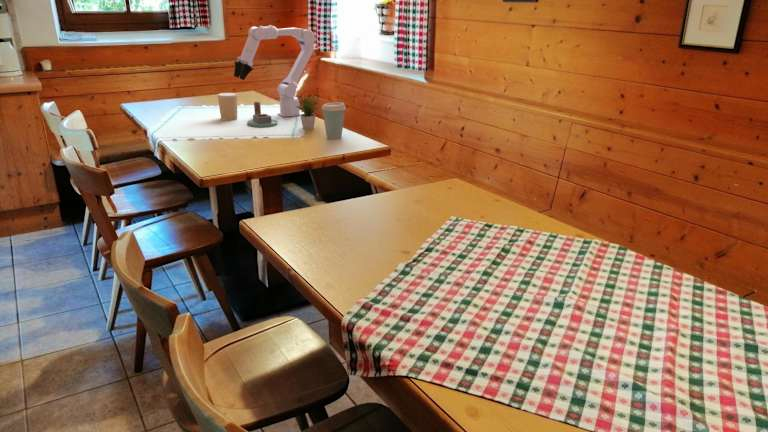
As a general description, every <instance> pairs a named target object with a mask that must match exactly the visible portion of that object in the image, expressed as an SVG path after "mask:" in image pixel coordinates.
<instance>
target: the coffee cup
mask: <svg viewBox="0 0 768 432" xmlns="http://www.w3.org/2000/svg"><path fill="white" fill-rule="evenodd" d="M217 99H218V100H217V101H218V106H219V114H220V118H221V120H223V121H235V120H238V95H237V93H235V92H220V93H217Z"/></svg>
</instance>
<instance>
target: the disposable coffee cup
mask: <svg viewBox="0 0 768 432" xmlns="http://www.w3.org/2000/svg"><path fill="white" fill-rule="evenodd" d="M321 110H322V115H323V123H324V128H325V134H326V135H325V136H326V137H327V139H331V140H332V139H333V140H336V139H341V138H342V134H343V128H344V121H345V113H346V110H347V106H345V103H344V102H341V101H340V102H337V101H336V102H329V103H328V102H327V103H325V104H323V105H321Z"/></svg>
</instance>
